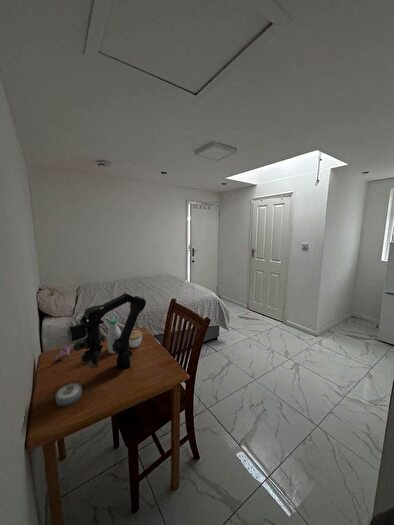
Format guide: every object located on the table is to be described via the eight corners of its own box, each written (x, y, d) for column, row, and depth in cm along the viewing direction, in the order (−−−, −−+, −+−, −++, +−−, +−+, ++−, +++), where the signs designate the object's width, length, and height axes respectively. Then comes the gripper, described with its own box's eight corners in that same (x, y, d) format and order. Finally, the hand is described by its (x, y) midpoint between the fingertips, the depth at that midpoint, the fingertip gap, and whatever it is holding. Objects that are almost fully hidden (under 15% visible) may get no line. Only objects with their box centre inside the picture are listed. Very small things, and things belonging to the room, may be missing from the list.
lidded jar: (122, 344, 137) (121, 331, 135) (137, 339, 144) (137, 326, 142) (129, 351, 129) (129, 337, 127) (145, 345, 136) (144, 332, 135)
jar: (85, 387, 100) (84, 379, 99) (77, 404, 90) (76, 395, 89) (62, 390, 98) (61, 381, 97) (51, 407, 88) (50, 398, 88)
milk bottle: (113, 355, 125) (111, 323, 122) (105, 351, 129) (103, 320, 126) (124, 349, 132) (122, 319, 128) (116, 345, 136) (114, 316, 132)
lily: (79, 352, 129) (71, 339, 129) (83, 353, 120) (74, 339, 120) (59, 366, 122) (50, 352, 121) (61, 369, 113) (51, 354, 112)
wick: (98, 365, 105) (97, 353, 104) (97, 367, 104) (97, 354, 103) (90, 366, 104) (89, 353, 103) (89, 368, 103) (88, 355, 102)
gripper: (82, 326, 109) (84, 353, 111) (67, 345, 91) (70, 377, 93) (104, 324, 111) (106, 351, 113) (94, 343, 93) (96, 375, 95)
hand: (95, 362), depth 104 cm, fingers closed on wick, 1 cm apart
